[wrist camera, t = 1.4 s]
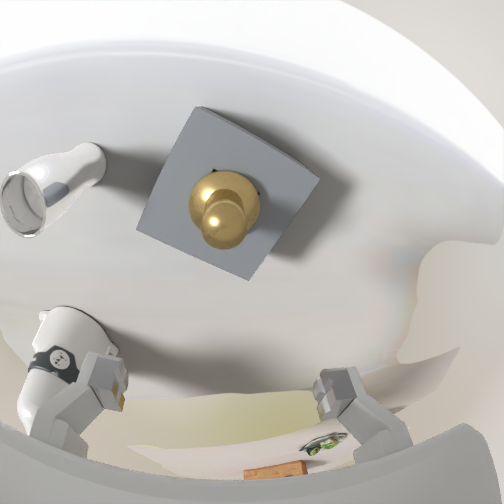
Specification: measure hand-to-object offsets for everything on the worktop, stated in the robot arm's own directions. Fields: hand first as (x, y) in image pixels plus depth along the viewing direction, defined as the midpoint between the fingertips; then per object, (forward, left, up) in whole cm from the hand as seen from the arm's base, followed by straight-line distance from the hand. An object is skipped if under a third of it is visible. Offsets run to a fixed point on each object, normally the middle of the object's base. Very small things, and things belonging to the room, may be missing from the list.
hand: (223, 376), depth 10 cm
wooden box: (-112, -86, -28) cm, 144 cm away
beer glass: (-6, +18, -28) cm, 33 cm away
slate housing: (0, 0, -27) cm, 27 cm away
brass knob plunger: (0, 0, -27) cm, 27 cm away
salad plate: (-70, -80, -28) cm, 110 cm away
